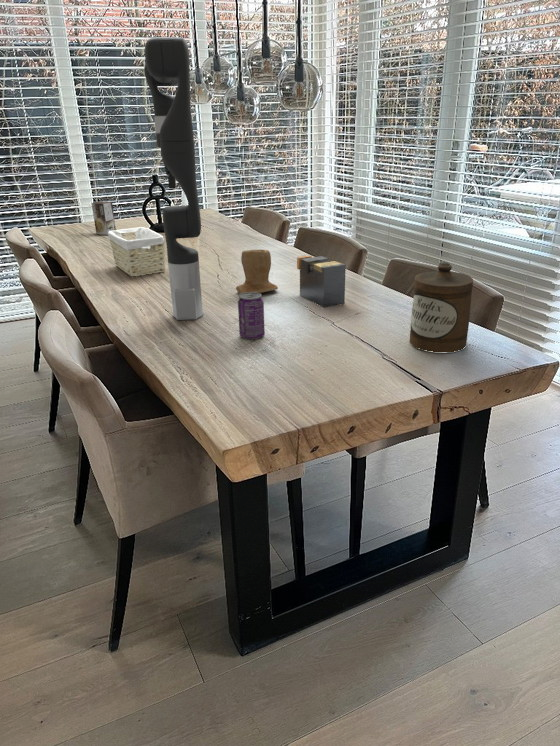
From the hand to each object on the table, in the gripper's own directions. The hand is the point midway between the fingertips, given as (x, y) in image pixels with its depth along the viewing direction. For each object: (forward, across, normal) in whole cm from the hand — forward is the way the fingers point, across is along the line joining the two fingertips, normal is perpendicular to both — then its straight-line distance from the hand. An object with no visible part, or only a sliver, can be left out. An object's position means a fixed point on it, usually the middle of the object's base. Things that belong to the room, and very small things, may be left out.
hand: (172, 188), depth 190 cm
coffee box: (+35, +110, +52) cm, 127 cm away
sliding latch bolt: (+27, -13, -47) cm, 55 cm away
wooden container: (+35, -58, -75) cm, 101 cm away
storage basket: (+35, +32, +21) cm, 52 cm away
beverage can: (+35, -48, -25) cm, 65 cm away
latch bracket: (+35, -16, -48) cm, 62 cm away
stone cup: (+35, -5, -26) cm, 44 cm away
